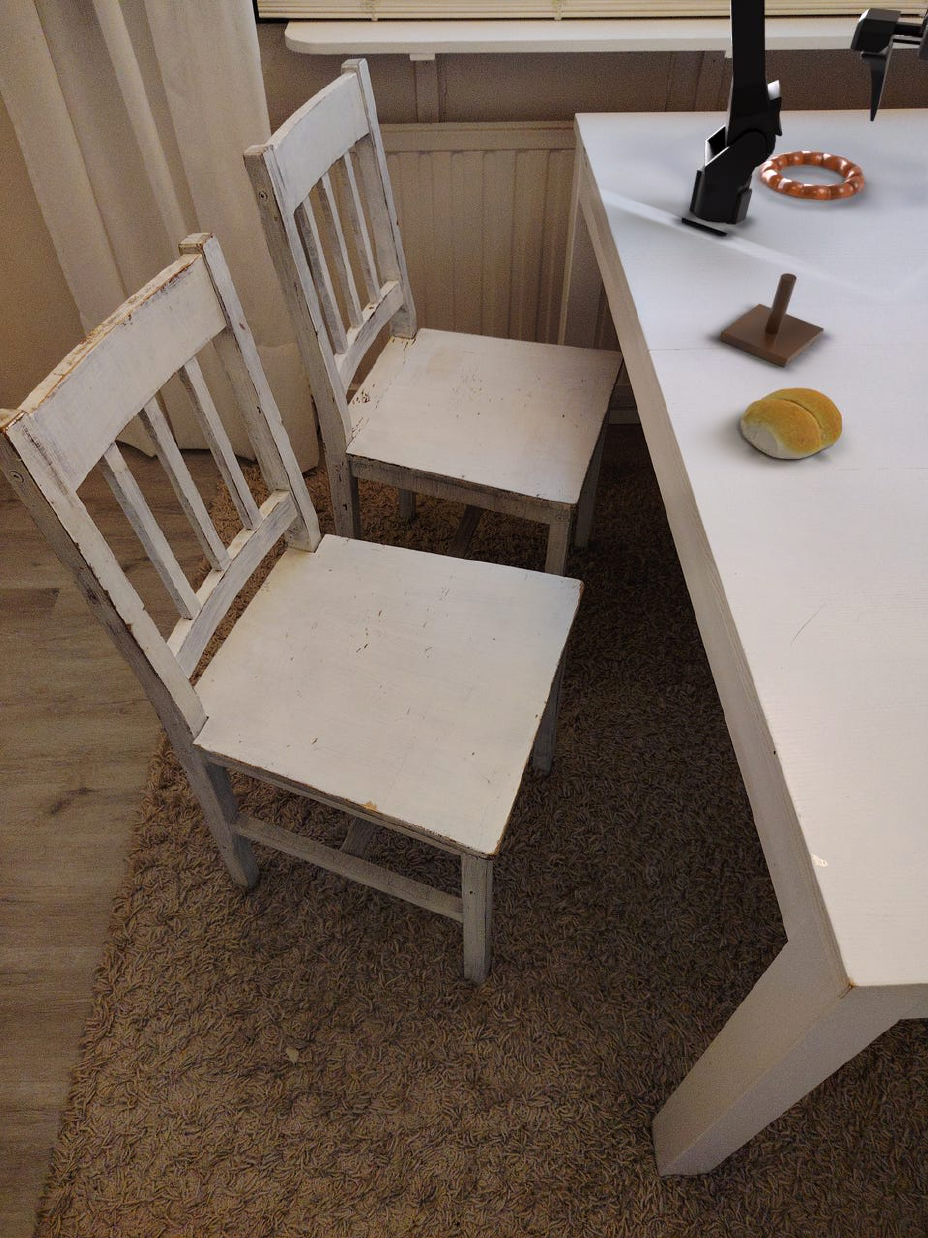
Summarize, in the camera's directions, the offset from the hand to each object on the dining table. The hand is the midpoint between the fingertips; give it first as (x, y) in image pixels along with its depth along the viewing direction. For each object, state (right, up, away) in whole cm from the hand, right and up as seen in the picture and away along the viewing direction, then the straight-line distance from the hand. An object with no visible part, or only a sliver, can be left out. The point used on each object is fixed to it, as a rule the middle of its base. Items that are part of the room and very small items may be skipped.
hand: (913, 125), depth 93 cm
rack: (-19, -27, -6) cm, 33 cm away
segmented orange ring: (-4, +4, +18) cm, 19 cm away
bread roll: (-21, -40, -16) cm, 48 cm away
